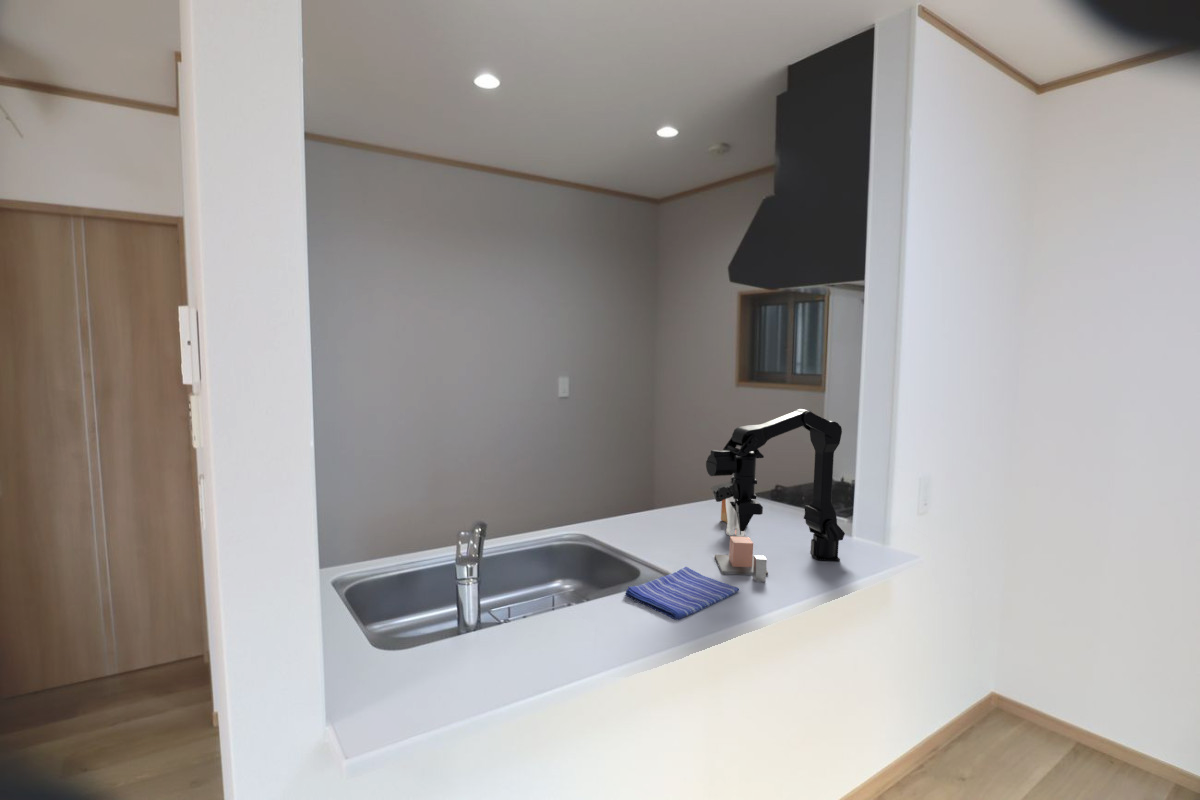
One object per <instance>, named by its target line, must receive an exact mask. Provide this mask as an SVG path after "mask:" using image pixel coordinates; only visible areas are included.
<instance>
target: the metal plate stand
mask: <svg viewBox="0 0 1200 800" xmlns="http://www.w3.org/2000/svg"><path fill="white" fill-rule="evenodd" d="M714 559H715V562H716V563H717V565H718V568H719V570H720V572H721V575H742V576H753V567H754V555H753V560H752V567H733V566H732V564H731V562H730V560H729V554H714ZM767 575H768V576H769V572H768V570H767V569H766V576H767Z"/></svg>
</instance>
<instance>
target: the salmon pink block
mask: <svg viewBox="0 0 1200 800" xmlns="http://www.w3.org/2000/svg"><path fill="white" fill-rule="evenodd" d="M728 551H729V552H728V555H729V560H730V562H731V564H732V566H733V567H752V560H753V556H754V542H753V541H752V540H751V538H750V537H749V536H743V537H734V536H729V550H728Z"/></svg>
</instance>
